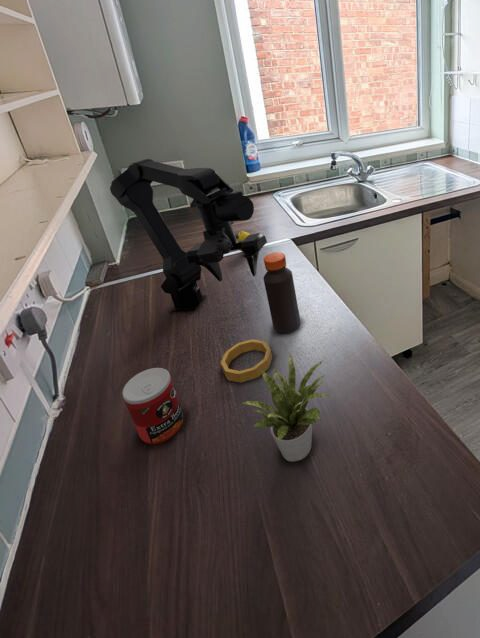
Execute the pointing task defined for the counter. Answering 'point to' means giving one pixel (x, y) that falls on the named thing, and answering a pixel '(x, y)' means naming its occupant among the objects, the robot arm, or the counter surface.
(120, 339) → the counter surface
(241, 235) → the lemon
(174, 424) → the canned food
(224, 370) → the yellow flat ring
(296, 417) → the house plant
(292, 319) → the vinegar
